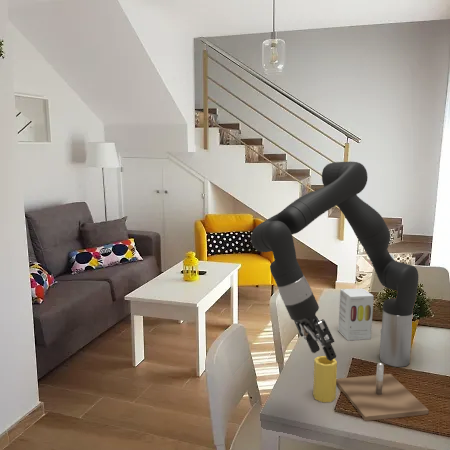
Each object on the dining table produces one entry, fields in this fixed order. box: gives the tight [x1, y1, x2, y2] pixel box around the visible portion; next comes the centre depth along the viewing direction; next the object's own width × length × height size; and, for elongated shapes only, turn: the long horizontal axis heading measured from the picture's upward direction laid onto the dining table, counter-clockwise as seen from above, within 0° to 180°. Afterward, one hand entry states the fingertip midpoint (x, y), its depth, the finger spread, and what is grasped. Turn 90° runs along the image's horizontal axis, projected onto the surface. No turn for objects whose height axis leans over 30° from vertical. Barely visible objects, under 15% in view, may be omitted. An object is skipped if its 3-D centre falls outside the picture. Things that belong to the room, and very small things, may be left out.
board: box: [336, 373, 429, 422], centre depth 133 cm, size 20×18×1 cm
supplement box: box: [337, 287, 374, 341], centre depth 175 cm, size 10×9×17 cm
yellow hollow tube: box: [312, 355, 338, 403], centre depth 133 cm, size 6×6×11 cm
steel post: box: [375, 362, 385, 395], centre depth 132 cm, size 2×2×10 cm
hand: (324, 355), depth 117 cm, fingers open, 8 cm apart
